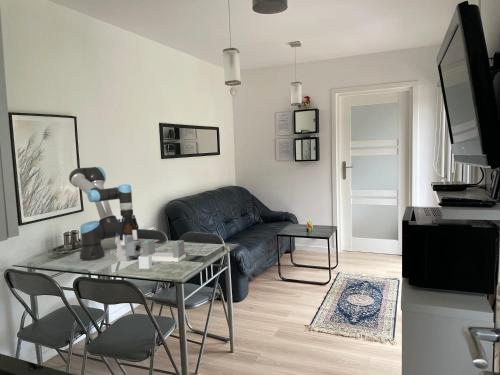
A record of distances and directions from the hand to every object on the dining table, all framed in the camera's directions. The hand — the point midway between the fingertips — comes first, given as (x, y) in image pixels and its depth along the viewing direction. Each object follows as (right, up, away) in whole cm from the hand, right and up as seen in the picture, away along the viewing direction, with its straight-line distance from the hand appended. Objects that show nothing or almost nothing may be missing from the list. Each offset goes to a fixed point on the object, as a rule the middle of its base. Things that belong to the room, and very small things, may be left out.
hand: (129, 242), depth 242 cm
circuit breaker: (0, -11, +1) cm, 11 cm away
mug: (-11, -8, +41) cm, 43 cm away
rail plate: (+22, -10, +1) cm, 24 cm away
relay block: (+15, -12, -16) cm, 25 cm away
